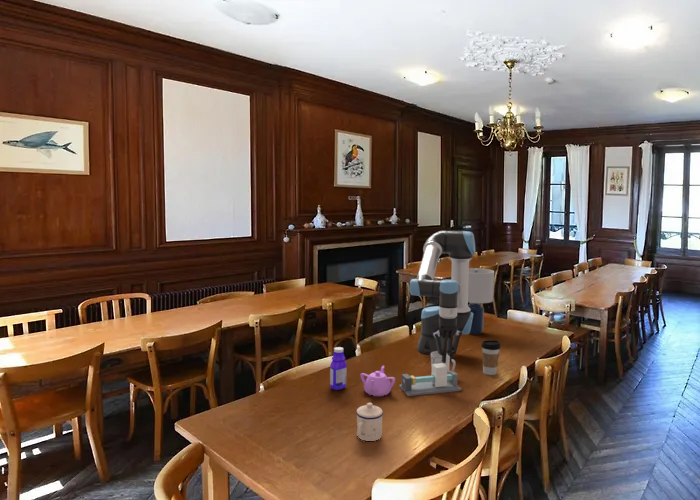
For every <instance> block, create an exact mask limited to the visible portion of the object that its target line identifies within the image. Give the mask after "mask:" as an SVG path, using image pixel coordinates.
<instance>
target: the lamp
mask: <svg viewBox="0 0 700 500" xmlns="http://www.w3.org/2000/svg"><path fill="white" fill-rule="evenodd" d="M494 278H495V271H494V270H493V269H492V270H491V269H489V268H488V269H486V268H478V267H476V268H474V267H469V279H468V303H469V304H468V307H469V308H470V309H471V312H472V313H473V319H472V325H471V330H470V333H469V334H468V335H475V336H477V335H481V334H483V332H484V320H485V319H484V318H485V315H484V313H485V308H484V306H482V304H489V303H493V301H494V285H495V284H494V283H495V279H494Z"/></svg>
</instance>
